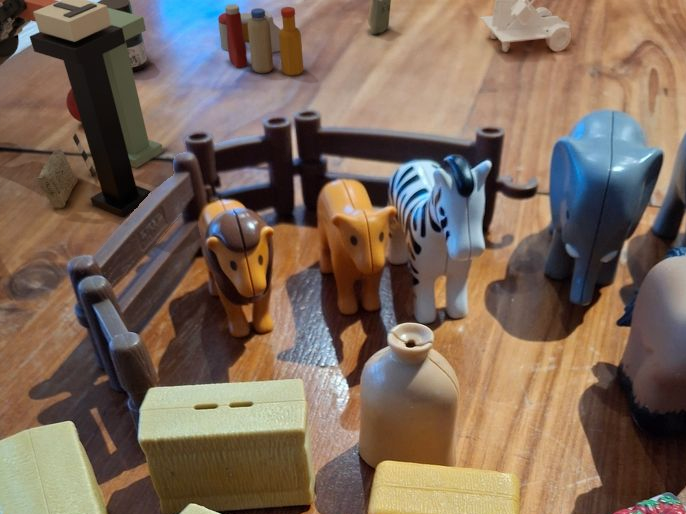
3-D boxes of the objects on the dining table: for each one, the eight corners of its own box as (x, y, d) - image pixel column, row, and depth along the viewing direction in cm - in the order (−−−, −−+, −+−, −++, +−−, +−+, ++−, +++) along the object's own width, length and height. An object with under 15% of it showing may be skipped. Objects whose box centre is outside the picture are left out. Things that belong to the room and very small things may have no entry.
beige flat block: (111, 25, 101) (106, 3, 99) (74, 42, 98) (68, 19, 96) (28, 2, 107) (22, -19, 105) (-10, 17, 104) (-17, -4, 102)
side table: (171, 151, 132) (143, 16, 115) (136, 172, 127) (102, 35, 110) (134, 138, 135) (102, 6, 118) (99, 159, 131) (61, 24, 114)
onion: (88, 134, 137) (75, 90, 130) (66, 126, 139) (53, 83, 132) (110, 122, 140) (98, 78, 134) (89, 114, 142) (76, 71, 136)
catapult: (499, 60, 156) (511, -26, 144) (477, 35, 165) (487, -48, 153) (577, 51, 159) (595, -34, 146) (551, 27, 168) (566, -55, 155)
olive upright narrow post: (390, 37, 165) (391, -3, 159) (367, 37, 165) (368, -3, 159) (390, 27, 169) (391, -12, 162) (367, 27, 169) (368, -12, 162)
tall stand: (161, 198, 122) (122, 27, 102) (123, 223, 117) (75, 49, 97) (122, 183, 125) (77, 15, 105) (84, 207, 120) (29, 36, 100)
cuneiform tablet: (95, 172, 127) (77, 209, 120) (72, 177, 128) (53, 214, 120) (75, 133, 122) (56, 168, 114) (51, 138, 123) (30, 174, 115)
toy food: (308, 74, 153) (305, 10, 143) (252, 86, 149) (245, 21, 140) (261, 30, 168) (256, -30, 159) (209, 40, 165) (200, -21, 155)
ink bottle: (107, 77, 153) (90, 13, 143) (102, 61, 158) (86, -1, 149) (153, 70, 155) (140, 7, 145) (146, 55, 160) (133, -7, 151)
